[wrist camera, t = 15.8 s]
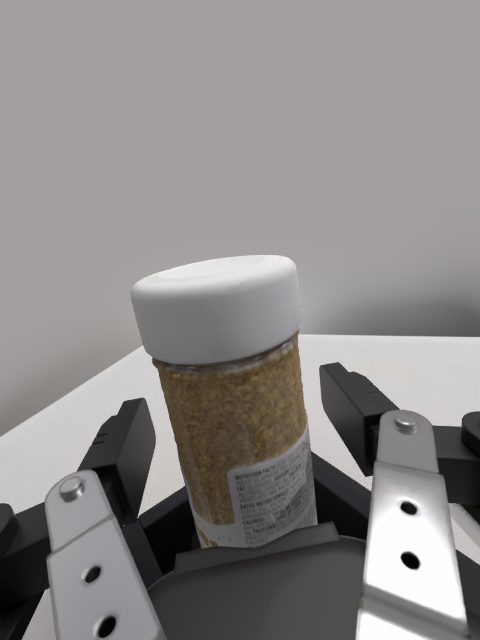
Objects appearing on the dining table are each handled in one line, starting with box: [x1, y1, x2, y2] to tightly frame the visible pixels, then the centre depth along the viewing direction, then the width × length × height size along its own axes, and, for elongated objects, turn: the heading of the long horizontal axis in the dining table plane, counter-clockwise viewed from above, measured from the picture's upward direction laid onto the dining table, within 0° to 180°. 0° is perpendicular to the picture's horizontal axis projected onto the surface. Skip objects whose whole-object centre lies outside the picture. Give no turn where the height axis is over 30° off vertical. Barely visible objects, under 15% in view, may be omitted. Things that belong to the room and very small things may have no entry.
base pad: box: [122, 451, 480, 616], centre depth 12 cm, size 14×14×4 cm
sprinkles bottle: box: [131, 255, 317, 548], centre depth 10 cm, size 5×5×14 cm
